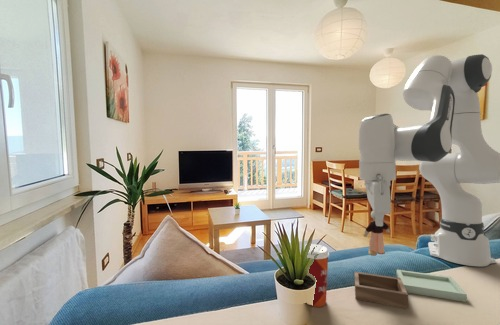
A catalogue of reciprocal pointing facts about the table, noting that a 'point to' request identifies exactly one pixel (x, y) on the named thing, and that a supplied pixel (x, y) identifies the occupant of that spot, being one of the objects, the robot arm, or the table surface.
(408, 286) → the tray
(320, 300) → the red shaker can
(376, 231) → the grandmother figurine
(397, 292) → the holder
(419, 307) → the table surface
